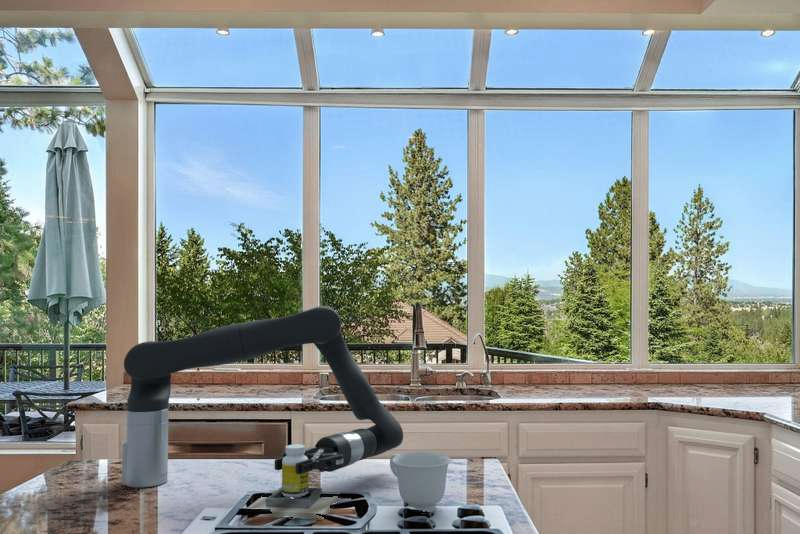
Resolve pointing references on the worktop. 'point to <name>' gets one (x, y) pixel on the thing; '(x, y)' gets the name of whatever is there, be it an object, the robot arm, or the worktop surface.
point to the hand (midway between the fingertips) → (286, 467)
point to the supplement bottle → (294, 472)
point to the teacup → (421, 478)
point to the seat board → (296, 504)
